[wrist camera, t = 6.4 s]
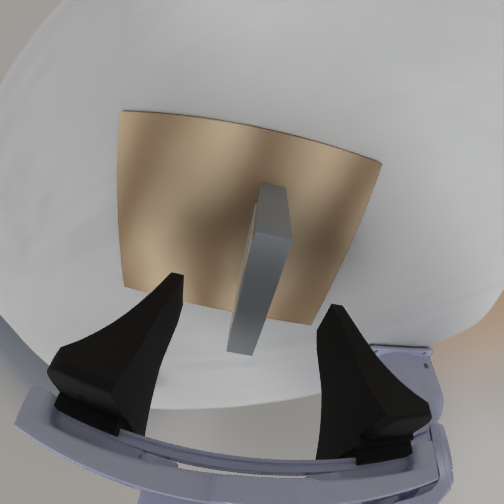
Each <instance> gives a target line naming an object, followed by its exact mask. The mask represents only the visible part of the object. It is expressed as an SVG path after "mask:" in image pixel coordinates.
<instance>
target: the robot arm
mask: <svg viewBox="0 0 504 504" xmlns="http://www.w3.org/2000/svg"><path fill="white" fill-rule="evenodd" d="M183 287H184V275H182V274H178V273H173V272H171V273H170V274H169V275H168V276H167V277H166V278H165V279H164V280H163V281H162V282H161V283H160V284H159V285H158V286H157V287H156V288H155V289H154V290H153V291H152V292H151V293H150V294H149V295H148V296H147V297H145V298H144V299H143V300H142V301H141V302H140V303H138V304H137V305H136V306H135V307H134V308H132V309H131V310H130V311H129V312H127V313H126V314H125V315H123V316H122V317H120V318H119V319H118V320H116V321H115V322H113V323H111V324H110V325H108V326H106V327H105V328H103V329H101V330H100V331H98V332H96V333H94V334H92V335H90V336H88V337H86V338H84V339H81V340H79V341H76V342H74V343H71V344H68V345H66V346H63V347H61V348H60V349H59V351H58V352H57V353H56V355H55V357H54V358H53V360H52V362H51V364H50V366H49V368H48V370H47V374H48V376H49V378H50V379H51V381H52V382H53V384H54V385H55V386H56V387H57V389H58V390H59V391H60V394H59V395H58V397H57V396H55V395H54V394H53V393H51V392H49V391H48V390H46V389H44V388H42V387H40V386H39V385H37V384H35V383H33V384H32V386H31V388H30V390H29V392H28V394H27V396H26V398H25V400H24V402H23V404H22V407H21V409H20V411H19V413H18V416H17V418H16V420H15V423H14V426H15V427H16V428H18V429H19V430H20V431H22V432H23V433H24V434H26V435H27V436H29V437H30V438H32V439H33V440H35V441H36V442H38V443H39V444H41V445H42V446H44V447H46V448H47V449H49V450H51V451H52V452H54V453H56V454H58V455H60V456H62V457H63V458H65V459H67V460H69V461H71V462H73V463H75V464H77V465H79V466H81V467H83V468H85V469H87V470H89V471H92V472H94V473H96V474H98V475H101V476H103V477H105V478H108V479H111V480H113V481H116V482H118V483H121V484H124V485H126V486H129V487H132V488H135V489H139V490H141V492H140V497H139V501H138V504H438V503H439V502H440V501H441V500H442V499H443V498H444V497H445V496H446V495H447V494H448V492H449V491H450V489H451V485H452V484H453V472H452V460H451V454H450V449H449V444H448V440H447V436H446V433H445V430H444V427H443V425H442V424H438V423H437V422H438V420H439V419H440V417H441V414H442V411H443V403H444V400H443V394H442V391H441V388H440V385H439V382H438V379H437V376H436V374H435V371H434V368H433V365H432V362H431V360H430V357H429V356H430V355H431V354H432V353H433V350H432V349H431V348H404V347H386V346H369V345H368V343H367V342H366V340H365V339H364V337H363V336H362V334H361V333H360V331H359V330H358V328H357V327H356V325H355V324H354V322H353V321H352V319H351V318H350V316H349V315H348V313H347V311H346V310H345V309H344V307H343V306H342V305H336V304H331V306H330V308H329V309H328V311H327V313H326V315H325V317H324V319H323V320H322V322H321V324H320V326H319V328H318V329H317V355H318V364H319V372H320V380H321V391H322V402H321V405H322V406H321V407H322V408H321V424H320V434H319V442H318V449H317V454H316V460H275V459H260V458H249V457H240V456H231V455H225V454H218V453H212V452H206V451H201V450H196V449H190V448H186V447H182V446H178V445H174V444H170V443H166V442H162V441H158V440H155V439H151V438H148V437H145V431H146V425H147V420H148V415H149V410H150V405H151V400H152V396H153V392H154V388H155V384H156V380H157V376H158V373H159V369H160V366H161V363H162V360H163V357H164V355H165V352H166V350H167V347H168V345H169V343H170V340H171V338H172V335H173V333H174V331H175V328H176V326H177V323H178V320H179V316H180V313H181V309H182V306H183ZM169 460H170V461H169ZM172 461H174V462H172ZM175 462H179V463H183V464H188V465H192V466H198V467H203V468H209V469H215V470H221V471H229V472H237V473H248V474H260V475H281V476H282V475H283V476H300V475H301V476H306V475H311V476H307V477H305V478H267V477H253V476H241V475H223V474H215V473H206V472H199V471H193V470H186V469H181V468H178V464H177V463H175ZM426 484H427V485H426ZM399 493H400V494H399ZM392 495H393V496H392Z"/></svg>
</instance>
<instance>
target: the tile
mask: <svg viewBox="0 0 504 504" xmlns="http://www.w3.org/2000/svg"><path fill="white" fill-rule="evenodd" d="M292 241H293V237H292V229H291V222H290V214H289V207H288V200H287V193H286V188H285V187H281V186H277V185H272V184H268V183H263V182H261V183H260V187H259V191H258V196H257V200H256V204H255V208H254V212H253V216H252V221H251V225H250V229H249V234H248V238H247V243H246V247H245V251H244V256H243V260H242V265H241V269H240V273H239V278H238V282H237V288H236V294H235V300H234V306H233V313H232V319H231V325H230V332H229V338H228V345H227V352H233V353H238V354H244V355H250V356H252V354H253V352H254V349H255V346H256V344H257V341H258V338H259V336H260V333H261V330H262V327H263V325H264V322H265V319H266V316H267V314H268V311H269V308H270V305H271V302H272V300H273V297H274V294H275V291H276V288H277V285H278V283H279V280H280V277H281V274H282V271H283V268H284V265H285V262H286V259H287V256H288V253H289V250H290V247H291V244H292Z"/></svg>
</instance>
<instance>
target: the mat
mask: <svg viewBox="0 0 504 504" xmlns="http://www.w3.org/2000/svg"><path fill="white" fill-rule="evenodd" d="M381 166H382V164H381V163H380V162H378V161H375V160H372V159H370V158H367V157H364V156H361V155H358V154H355V153H352V152H349V151H346V150H343V149H340V148H337V147H333V146H330V145H327V144H323V143H320V142H316V141H313V140H309V139H306V138H302V137H298V136H294V135H290V134H286V133H282V132H278V131H273V130H269V129H264V128H260V127H255V126H250V125H245V124H239V123H234V122H228V121H222V120H216V119H209V118H202V117H195V116H186V115H177V114H167V113H155V112H140V111H121V112H120V123H119V138H118V162H117V199H118V224H119V239H120V251H121V262H122V271H123V279H124V287H128V288H132V289H136V290H139V291H143V292H147V293H151V292H152V291H153V290H154V289H155V288H156V287H157V286H158V285H159V284H160V283H161V282H162V281H163V280H164V279H165V278H166V277H167V276H168V275H169V274H170V273H171V272H173V273H178V274H182V275H184V287H183V301H184V302H189V303H193V304H198V305H202V306H207V307H212V308H217V309H221V310H226V311H231V312H233V306H234V300H235V294H236V288H237V282H238V278H239V273H240V269H241V265H242V260H243V256H244V251H245V247H246V243H247V238H248V234H249V229H250V225H251V221H252V216H253V212H254V208H255V204H256V200H257V196H258V191H259V187H260V183H261V182H263V183H268V184H272V185H277V186H281V187H285V188H286V193H287V200H288V207H289V214H290V222H291V229H292V237H293V241H292V244H291V247H290V250H289V253H288V256H287V259H286V262H285V265H284V268H283V271H282V274H281V277H280V280H279V283H278V285H277V288H276V291H275V294H274V297H273V300H272V302H271V305H270V308H269V311H268V314H267V316H266V318H269V319H275V320H281V321H287V322H294V323H300V324H307V325H311V324H312V322H313V320H314V319H315V317H316V315H317V313H318V311H319V309H320V307H321V305H322V303H323V301H324V299H325V297H326V295H327V293H328V291H329V289H330V287H331V285H332V283H333V281H334V279H335V277H336V275H337V273H338V270H339V268H340V266H341V264H342V262H343V260H344V257H345V255H346V253H347V251H348V249H349V246H350V244H351V242H352V240H353V237H354V235H355V233H356V230H357V228H358V226H359V223H360V221H361V218H362V216H363V213H364V211H365V208H366V206H367V203H368V201H369V198H370V196H371V193H372V191H373V188H374V185H375V183H376V180H377V177H378V174H379V172H380V169H381Z"/></svg>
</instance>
